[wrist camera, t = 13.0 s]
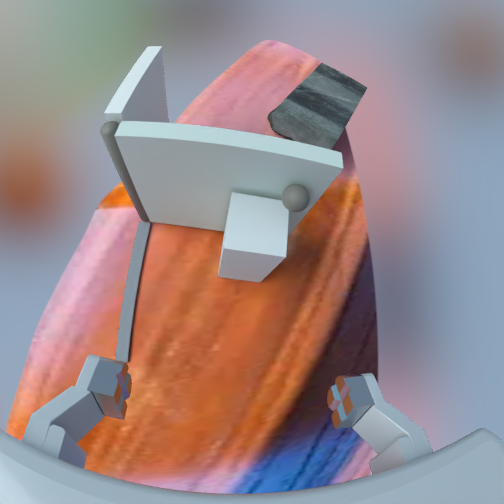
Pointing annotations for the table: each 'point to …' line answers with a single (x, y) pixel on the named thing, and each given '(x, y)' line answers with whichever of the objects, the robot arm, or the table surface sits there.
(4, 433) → the robot arm
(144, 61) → the wall
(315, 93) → the stone block
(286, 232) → the light grey block
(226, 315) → the table surface
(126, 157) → the door
